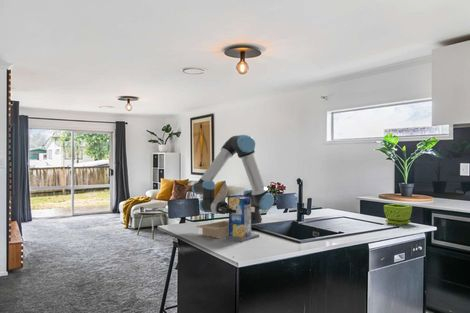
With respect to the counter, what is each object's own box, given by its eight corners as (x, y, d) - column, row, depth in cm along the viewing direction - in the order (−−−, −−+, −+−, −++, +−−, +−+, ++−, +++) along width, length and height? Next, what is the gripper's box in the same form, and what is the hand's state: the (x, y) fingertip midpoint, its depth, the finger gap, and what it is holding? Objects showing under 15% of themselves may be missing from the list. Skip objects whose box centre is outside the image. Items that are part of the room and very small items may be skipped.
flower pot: (394, 221, 257) (394, 203, 257) (413, 224, 245) (413, 205, 245) (382, 223, 250) (382, 205, 250) (401, 226, 238) (400, 207, 238)
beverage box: (244, 237, 198) (244, 198, 198) (228, 235, 204) (228, 197, 204) (251, 235, 203) (251, 197, 203) (235, 233, 210) (235, 196, 210)
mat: (243, 234, 215) (243, 231, 215) (259, 237, 207) (259, 234, 207) (225, 238, 202) (225, 236, 202) (241, 242, 195) (241, 239, 195)
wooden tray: (229, 228, 231) (229, 219, 231) (246, 231, 221) (246, 222, 221) (196, 236, 209) (196, 226, 209) (214, 240, 199) (214, 229, 199)
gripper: (232, 211, 225) (260, 214, 211) (206, 216, 207) (234, 220, 193) (232, 199, 225) (260, 202, 211) (206, 203, 207) (234, 206, 193)
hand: (247, 210), depth 202 cm, fingers open, 11 cm apart
